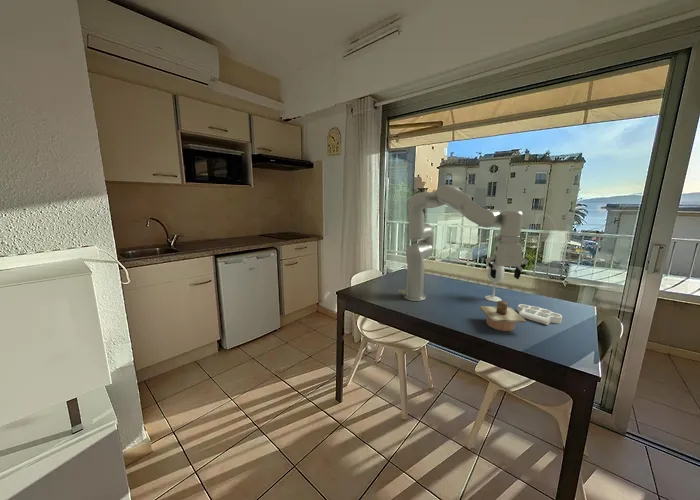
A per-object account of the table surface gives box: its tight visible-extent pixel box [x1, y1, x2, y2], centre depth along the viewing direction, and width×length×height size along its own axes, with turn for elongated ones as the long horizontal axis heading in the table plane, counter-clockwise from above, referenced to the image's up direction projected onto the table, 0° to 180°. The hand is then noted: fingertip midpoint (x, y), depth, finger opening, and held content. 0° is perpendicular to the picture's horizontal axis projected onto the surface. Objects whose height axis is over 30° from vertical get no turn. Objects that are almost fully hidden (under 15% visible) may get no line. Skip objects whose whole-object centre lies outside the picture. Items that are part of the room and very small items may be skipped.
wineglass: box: [484, 261, 505, 303], centre depth 149 cm, size 9×9×21 cm
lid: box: [479, 300, 527, 323], centre depth 120 cm, size 14×14×6 cm
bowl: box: [486, 316, 516, 332], centre depth 121 cm, size 11×11×5 cm
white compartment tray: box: [516, 303, 563, 326], centre depth 129 cm, size 3×18×15 cm
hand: (504, 277), depth 117 cm, fingers open, 9 cm apart
